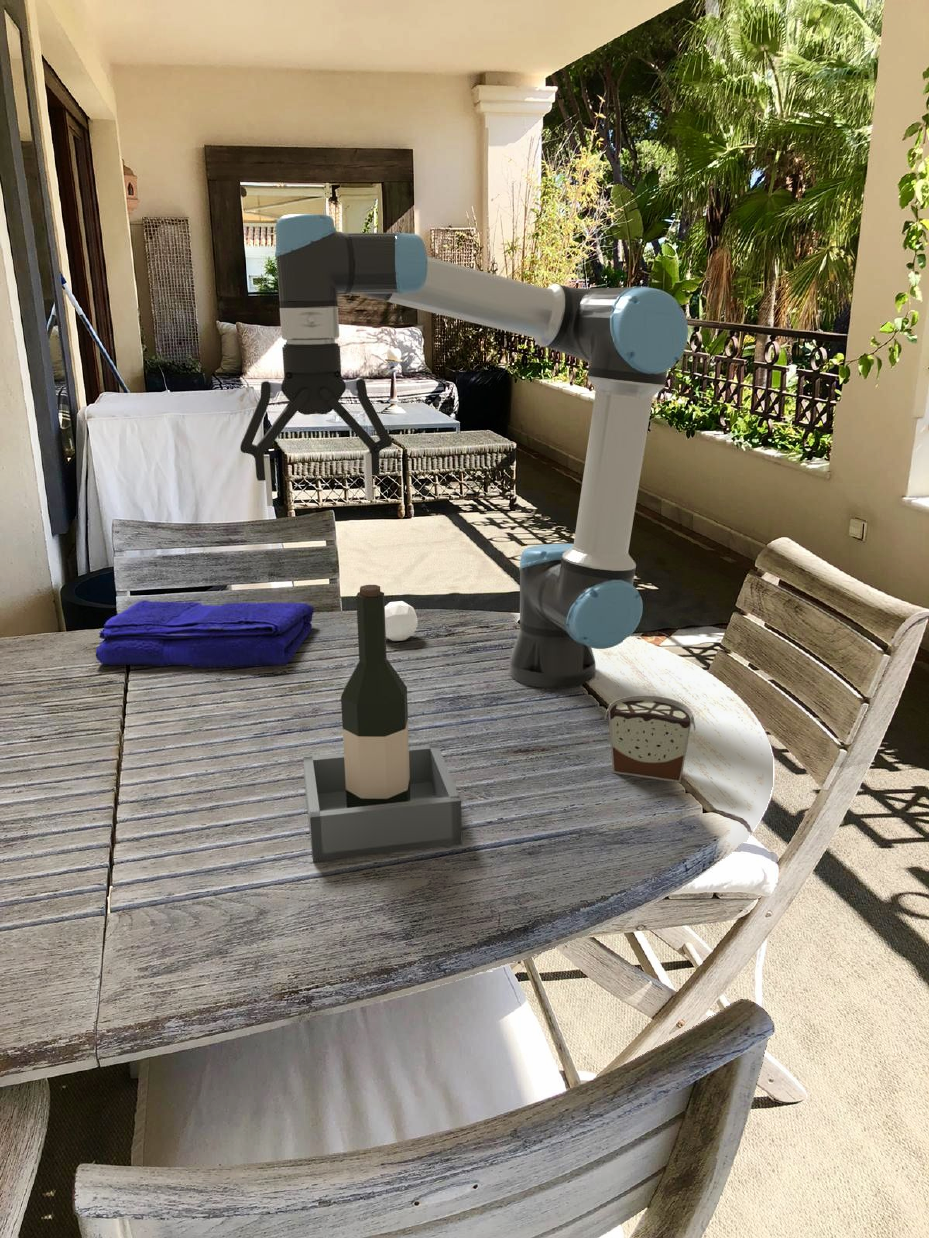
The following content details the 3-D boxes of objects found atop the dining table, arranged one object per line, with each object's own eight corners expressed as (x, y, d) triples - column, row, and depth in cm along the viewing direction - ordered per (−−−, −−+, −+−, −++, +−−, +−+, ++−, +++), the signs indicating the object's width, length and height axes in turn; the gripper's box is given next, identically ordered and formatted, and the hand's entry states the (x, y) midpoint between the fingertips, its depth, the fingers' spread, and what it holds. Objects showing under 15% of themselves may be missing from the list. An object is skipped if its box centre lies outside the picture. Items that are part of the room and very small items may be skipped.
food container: (696, 764, 139) (701, 699, 136) (691, 784, 134) (696, 716, 131) (610, 752, 143) (613, 689, 140) (602, 771, 138) (604, 705, 134)
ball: (391, 649, 193) (386, 611, 196) (427, 639, 190) (421, 600, 193) (372, 642, 186) (367, 602, 189) (409, 631, 184) (403, 591, 186)
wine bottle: (423, 804, 127) (417, 582, 117) (392, 835, 120) (383, 601, 110) (367, 792, 130) (357, 574, 121) (334, 821, 123) (320, 592, 114)
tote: (438, 783, 134) (437, 743, 133) (461, 844, 120) (461, 800, 118) (305, 797, 131) (303, 757, 129) (313, 861, 116) (310, 817, 114)
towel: (146, 624, 202) (141, 583, 199) (317, 626, 200) (314, 585, 197) (93, 671, 177) (86, 625, 174) (287, 674, 175) (284, 627, 172)
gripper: (212, 345, 123) (226, 511, 129) (409, 341, 127) (413, 502, 134) (214, 342, 130) (228, 500, 136) (401, 338, 134) (405, 491, 141)
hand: (320, 501), depth 135 cm, fingers open, 13 cm apart
